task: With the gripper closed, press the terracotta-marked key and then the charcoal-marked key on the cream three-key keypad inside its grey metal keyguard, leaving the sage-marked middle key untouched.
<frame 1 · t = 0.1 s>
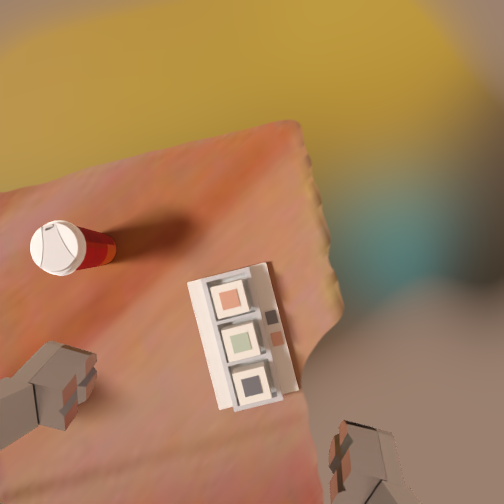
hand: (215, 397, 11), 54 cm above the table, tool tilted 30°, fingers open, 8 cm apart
keypad base: (242, 334, 66), on the table
charcoal key: (252, 383, 61), point 5 cm above the table, slide at 0.0 cm
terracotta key: (230, 298, 61), point 5 cm above the table, slide at 0.0 cm
sage key: (241, 340, 61), point 5 cm above the table, slide at 0.0 cm
coffee cup: (101, 249, 67), on the table
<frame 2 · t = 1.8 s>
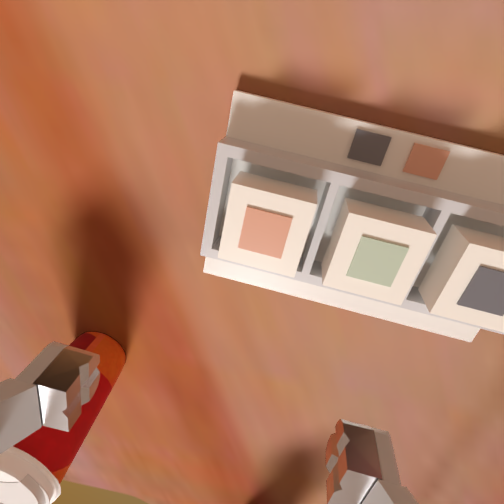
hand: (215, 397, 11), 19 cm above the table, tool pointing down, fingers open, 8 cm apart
keypad base: (364, 225, 28), on the table
charcoal key: (481, 279, 24), point 5 cm above the table, slide at 0.0 cm
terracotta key: (266, 224, 24), point 5 cm above the table, slide at 0.0 cm
sage key: (373, 251, 24), point 5 cm above the table, slide at 0.0 cm
coffee cup: (102, 351, 40), on the table
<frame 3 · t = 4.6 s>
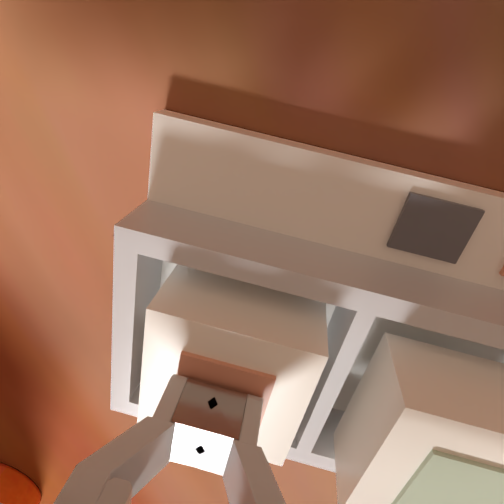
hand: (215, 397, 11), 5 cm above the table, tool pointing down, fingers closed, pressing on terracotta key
keypad base: (410, 350, 16), on the table
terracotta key: (230, 363, 13), point 3 cm above the table, slide at 1.1 cm, touching gripper
sage key: (443, 447, 12), point 5 cm above the table, slide at 0.0 cm
coffee cup: (7, 482, 27), on the table
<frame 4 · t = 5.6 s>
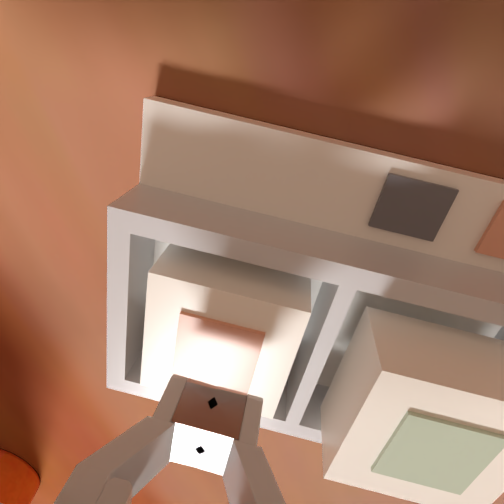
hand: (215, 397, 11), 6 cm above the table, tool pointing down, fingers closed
keypad base: (393, 328, 16), on the table
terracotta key: (224, 327, 14), point 3 cm above the table, slide at 1.8 cm
sage key: (421, 413, 12), point 5 cm above the table, slide at 0.0 cm
coffee cup: (6, 468, 28), on the table
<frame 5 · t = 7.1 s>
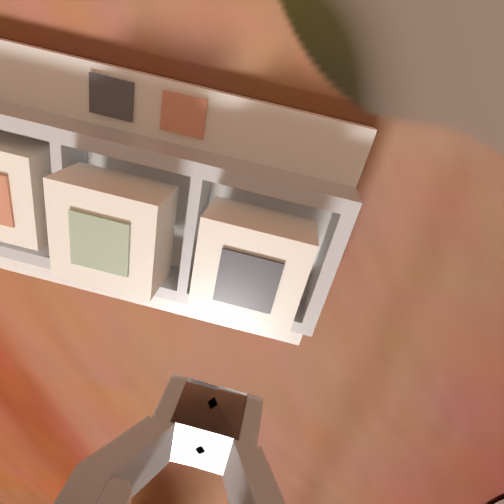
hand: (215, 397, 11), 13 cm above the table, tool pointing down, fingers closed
keypad base: (148, 202, 23), on the table
charcoal key: (251, 266, 18), point 5 cm above the table, slide at 0.0 cm
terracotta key: (5, 187, 20), point 3 cm above the table, slide at 1.8 cm
sage key: (114, 231, 19), point 5 cm above the table, slide at 0.0 cm
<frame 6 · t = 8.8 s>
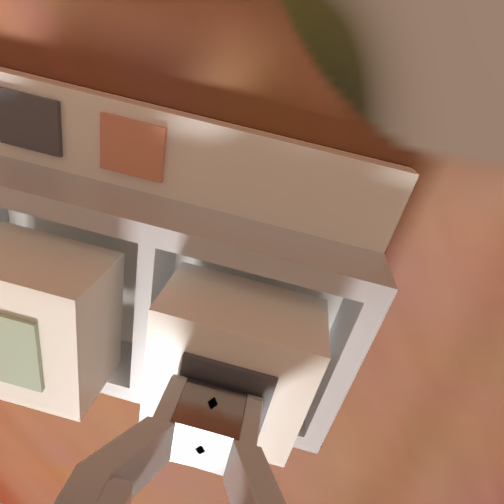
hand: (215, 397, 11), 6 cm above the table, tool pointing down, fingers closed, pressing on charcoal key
keypad base: (97, 259, 17), on the table
charcoal key: (231, 364, 13), point 4 cm above the table, slide at 0.5 cm, touching gripper
sage key: (28, 319, 13), point 5 cm above the table, slide at 0.0 cm
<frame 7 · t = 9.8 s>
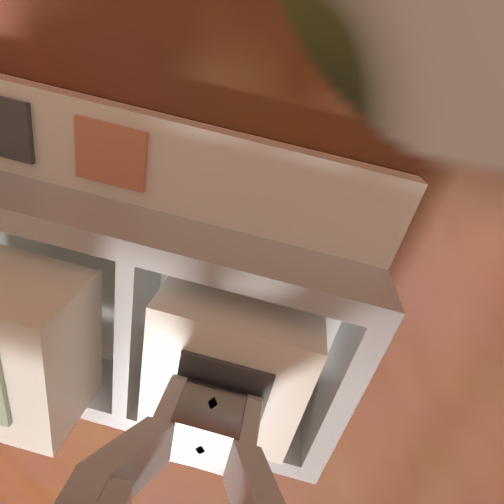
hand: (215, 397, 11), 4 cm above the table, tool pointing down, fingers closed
keypad base: (78, 273, 16), on the table
charcoal key: (229, 362, 13), point 3 cm above the table, slide at 1.9 cm
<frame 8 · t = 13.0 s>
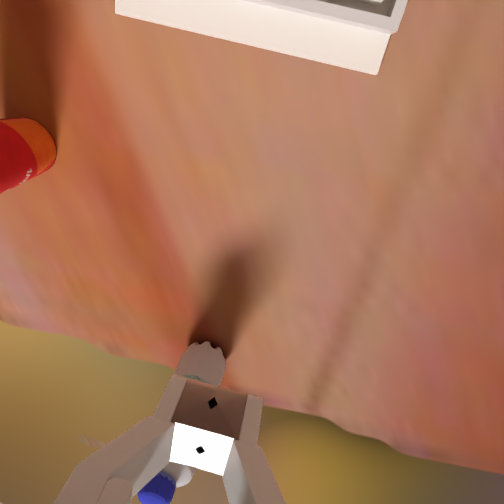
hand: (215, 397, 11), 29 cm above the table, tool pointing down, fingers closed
bottle: (207, 352, 51), on the table
coffee cup: (33, 145, 40), on the table
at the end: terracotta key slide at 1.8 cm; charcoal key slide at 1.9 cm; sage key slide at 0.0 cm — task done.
